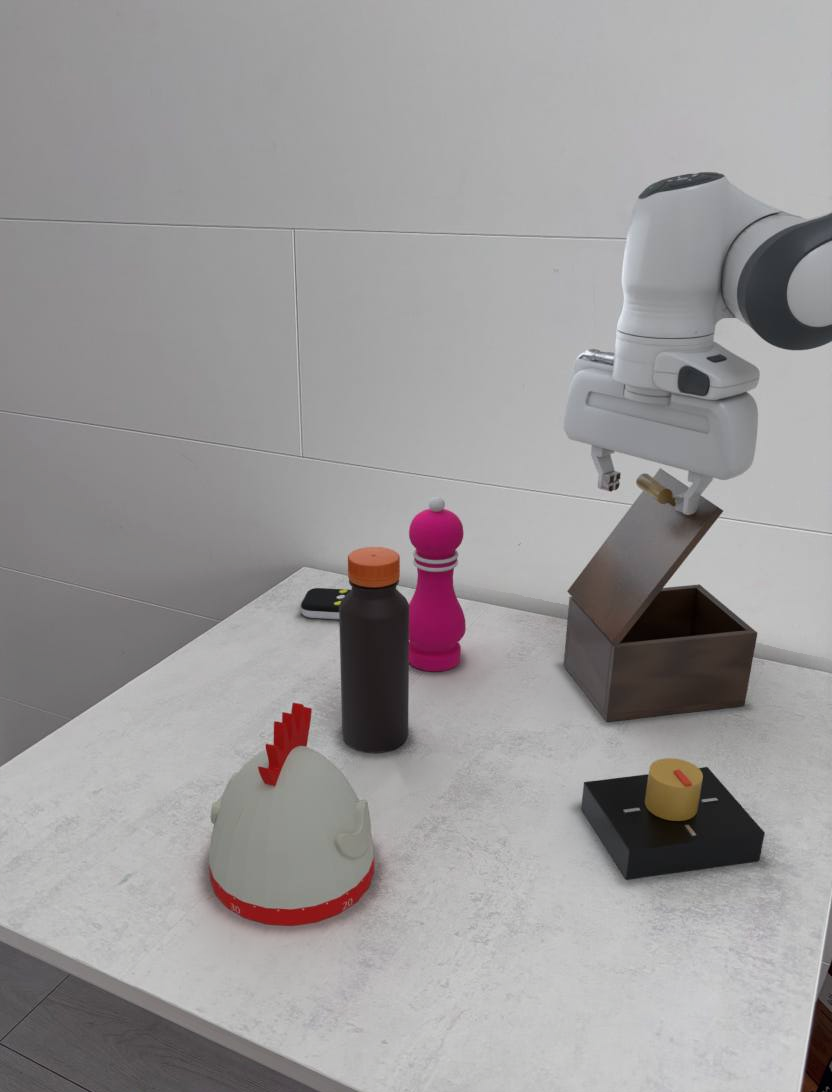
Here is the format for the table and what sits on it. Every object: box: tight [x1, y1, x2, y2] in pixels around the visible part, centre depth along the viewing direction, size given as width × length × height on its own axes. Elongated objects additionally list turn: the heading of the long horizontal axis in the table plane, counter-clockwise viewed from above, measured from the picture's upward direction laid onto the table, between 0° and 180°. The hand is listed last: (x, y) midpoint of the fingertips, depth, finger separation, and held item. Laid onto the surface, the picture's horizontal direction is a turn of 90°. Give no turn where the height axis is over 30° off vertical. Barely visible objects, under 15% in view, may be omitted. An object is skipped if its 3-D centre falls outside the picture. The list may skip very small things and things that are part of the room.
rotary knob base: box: [580, 766, 766, 880], centre depth 90 cm, size 12×10×3 cm
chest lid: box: [566, 467, 724, 645], centre depth 105 cm, size 16×13×5 cm
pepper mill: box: [408, 495, 467, 672], centre depth 116 cm, size 7×7×20 cm
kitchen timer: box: [208, 702, 375, 927], centre depth 84 cm, size 14×14×15 cm
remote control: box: [300, 587, 352, 620], centre depth 132 cm, size 6×13×2 cm, turn 80°
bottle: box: [338, 546, 410, 753], centre depth 101 cm, size 7×7×20 cm
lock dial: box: [645, 757, 703, 821], centre depth 88 cm, size 4×4×4 cm
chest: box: [563, 584, 758, 723], centre depth 112 cm, size 16×13×9 cm
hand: (645, 500), depth 103 cm, fingers open, 8 cm apart
